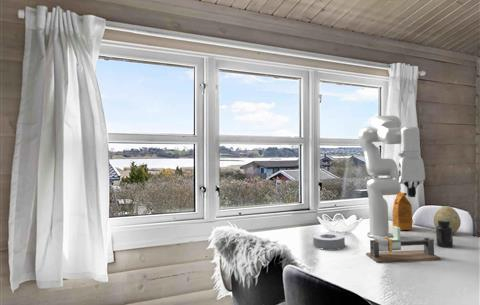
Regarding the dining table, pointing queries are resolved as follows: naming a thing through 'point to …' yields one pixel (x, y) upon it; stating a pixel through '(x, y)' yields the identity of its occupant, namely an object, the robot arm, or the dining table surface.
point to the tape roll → (329, 240)
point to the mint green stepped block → (396, 238)
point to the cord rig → (401, 256)
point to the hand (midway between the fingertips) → (411, 196)
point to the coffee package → (402, 212)
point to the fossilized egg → (448, 217)
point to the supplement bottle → (444, 234)
